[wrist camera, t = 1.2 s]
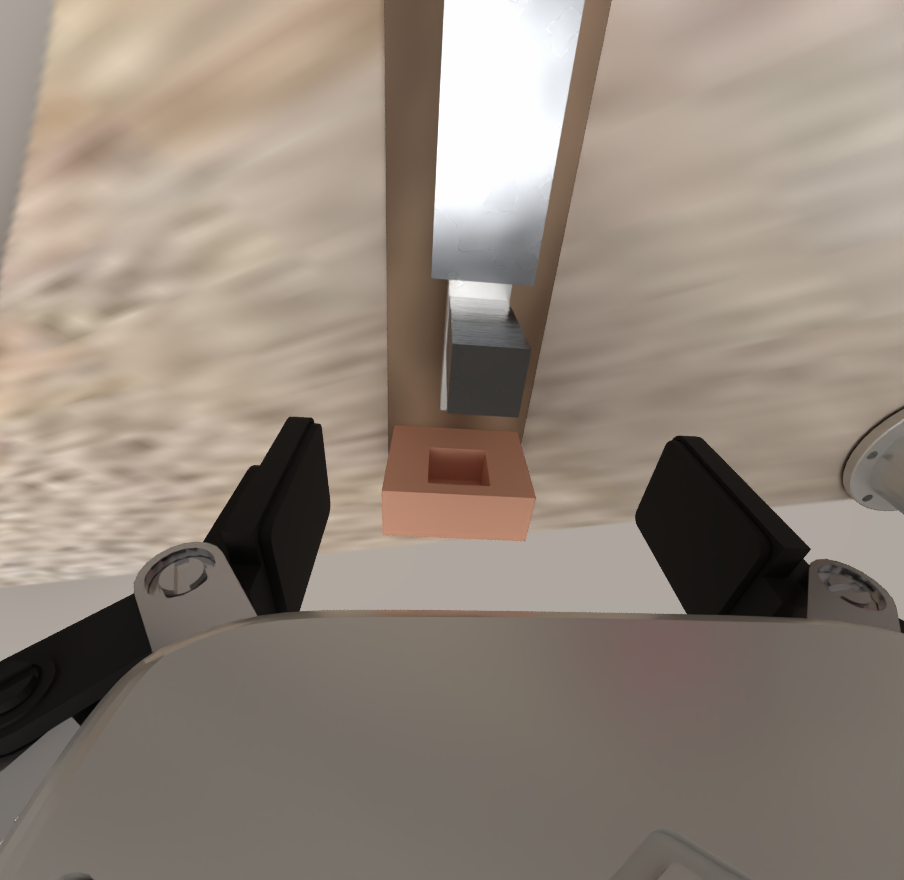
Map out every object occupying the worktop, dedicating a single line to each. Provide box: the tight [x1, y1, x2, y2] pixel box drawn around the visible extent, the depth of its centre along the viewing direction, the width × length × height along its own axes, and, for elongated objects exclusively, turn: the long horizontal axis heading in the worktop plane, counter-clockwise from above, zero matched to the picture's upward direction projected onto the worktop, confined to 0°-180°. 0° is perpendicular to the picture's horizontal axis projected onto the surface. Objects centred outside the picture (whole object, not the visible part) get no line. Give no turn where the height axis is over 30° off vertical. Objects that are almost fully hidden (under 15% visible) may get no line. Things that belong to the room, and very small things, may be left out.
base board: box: [384, 0, 612, 453], centre depth 28 cm, size 11×30×2 cm, turn 176°
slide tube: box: [440, 280, 532, 418], centre depth 18 cm, size 3×19×10 cm, turn 176°
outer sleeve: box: [431, 0, 585, 286], centre depth 20 cm, size 5×12×8 cm, turn 175°
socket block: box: [382, 425, 536, 541], centre depth 31 cm, size 10×4×8 cm, turn 86°
